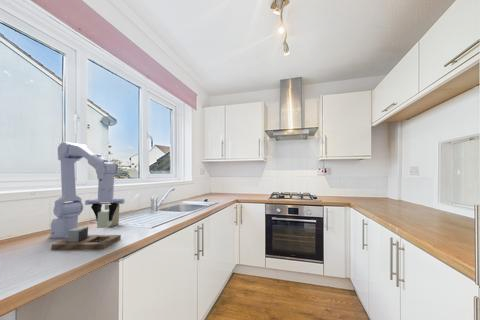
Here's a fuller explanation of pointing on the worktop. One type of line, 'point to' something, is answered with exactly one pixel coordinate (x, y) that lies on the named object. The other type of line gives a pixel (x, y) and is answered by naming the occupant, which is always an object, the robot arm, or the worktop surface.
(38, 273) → the worktop surface
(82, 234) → the grey block
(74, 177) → the robot arm
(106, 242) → the brown wooden frame
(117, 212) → the skincare box
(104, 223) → the block
